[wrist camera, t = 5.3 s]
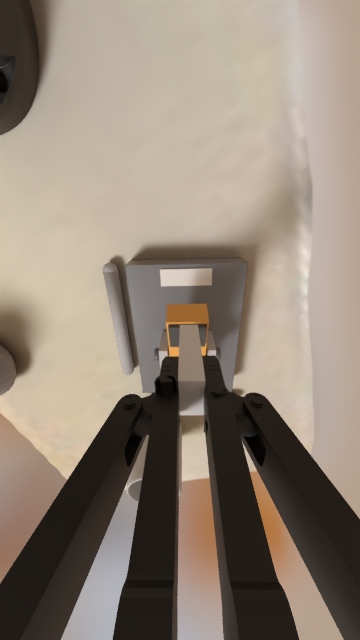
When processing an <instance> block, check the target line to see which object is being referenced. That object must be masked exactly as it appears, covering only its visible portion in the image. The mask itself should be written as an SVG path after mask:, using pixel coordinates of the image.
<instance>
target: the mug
mask: <svg viewBox="0 0 360 640" xmlns="http://www.w3.org/2000/svg"><path fill="white" fill-rule="evenodd" d="M148 438H149V435H147V436H146V438H145V441H144V443H143V445H142V448H141V450H140V452H139V455H138V457H137V460H136V462H135V464H134V467H133V469H132V471H131V474H130V476H129V479H128V483H127V493H128V495H129V496H130V497H131V498H132V499H133V500H135V501H137V502H139V496H140V490H141V483H142V477H143V470H144V464H145V457H146V451H147V444H148ZM181 484H182V426H181V423H180V443H179V497H180V495H181V486H182V485H181Z"/></svg>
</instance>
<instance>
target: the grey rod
mask: <svg viewBox="0 0 360 640" xmlns="http://www.w3.org/2000/svg"><path fill="white" fill-rule="evenodd" d="M103 273H104V278H105V283H106V288H107V294H108V299H109V304H110V309H111V314H112V319H113V324H114V330H115V335H116V340H117V345H118V350H119V355H120V360H121V366H122V371H123V373H124V374H126V375H130V374H132V373H133V371H134V366H133V360H132V354H131V348H130V341H129V335H128V329H127V323H126V317H125V310H124V304H123V298H122V292H121V286H120V279H119V273H118V268H117V266H116V265H115V264H113V263H107V264H105V265H104V267H103Z"/></svg>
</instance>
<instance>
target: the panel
mask: <svg viewBox="0 0 360 640" xmlns="http://www.w3.org/2000/svg"><path fill="white" fill-rule="evenodd" d="M247 264H248V263H247V262H246V261H245V260H243V259H242V258H209V259H166V260H131V261H129V262H128V263H127V264H126V265H125V269H126V276H127V283H128V290H129V297H130V304H131V311H132V317H133V324H134V331H135V338H136V345H137V352H138V359H139V366H140V373H141V380H142V387H143V393H154V392H155V384H154V381H155V379H156V378H157V377H158V376H160V371H161V364H162V360H163V359H164V358H165V357H167V356H170V354H169V345H168V336H167V327H166V315H167V304H207V309H208V317H209V327H208V337H207V346H206V355H205V356H213V355H215V356H216V357H217V358H218V360H219V363H220V367H221V371H222V375H223V379H224V383H225V386H226V388H227V389H228V391H229V392H232V387H233V379H234V371H235V363H236V354H237V346H238V338H239V330H240V322H241V313H242V305H243V297H244V289H245V281H246V273H247Z"/></svg>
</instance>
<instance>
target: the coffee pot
mask: <svg viewBox="0 0 360 640" xmlns="http://www.w3.org/2000/svg"><path fill="white" fill-rule="evenodd" d="M15 377H16V368H15V364H14V360H13V357H12V355H11V354H10V352H9V351H8V350H7V349H6V348H5V347H4V346H2V345H1V344H0V395H2V394H4V393H5V392H7V391H8V390H10V388H11V387H12V385H13V384H14V381H15Z"/></svg>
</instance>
